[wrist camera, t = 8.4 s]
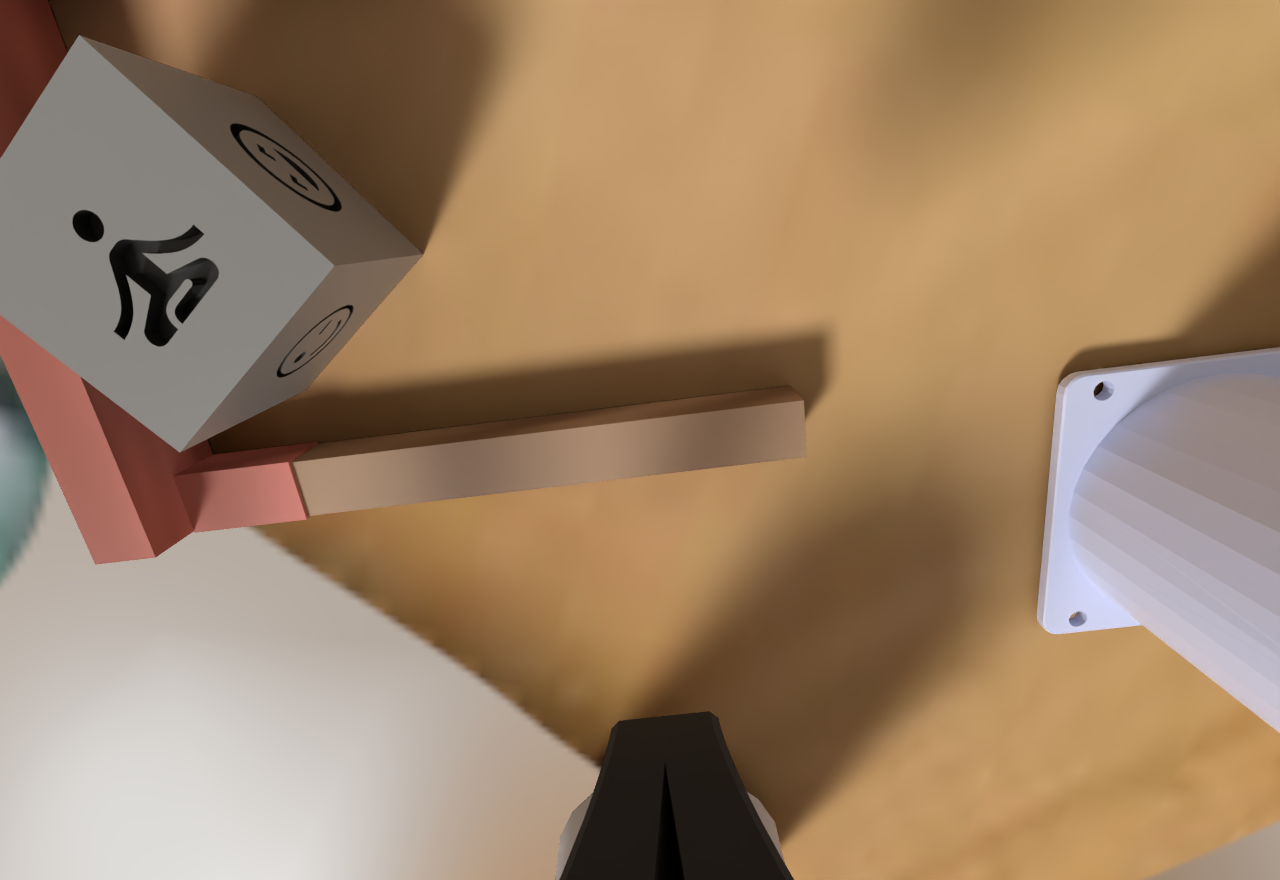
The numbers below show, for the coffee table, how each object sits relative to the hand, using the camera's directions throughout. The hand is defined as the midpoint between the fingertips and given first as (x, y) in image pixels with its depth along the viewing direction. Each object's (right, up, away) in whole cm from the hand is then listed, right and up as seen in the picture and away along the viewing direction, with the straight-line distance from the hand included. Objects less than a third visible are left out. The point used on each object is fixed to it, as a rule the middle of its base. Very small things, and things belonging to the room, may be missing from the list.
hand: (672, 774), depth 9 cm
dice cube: (-9, +9, +8) cm, 15 cm away
